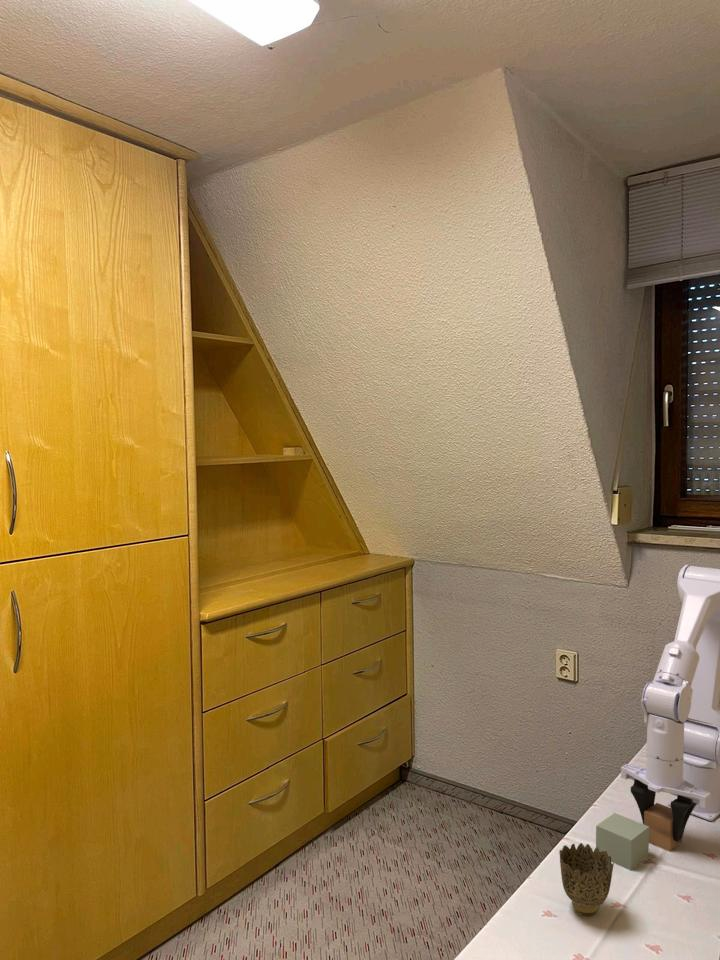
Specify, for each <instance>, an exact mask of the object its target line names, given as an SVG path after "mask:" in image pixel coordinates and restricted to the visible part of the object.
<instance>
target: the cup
mask: <svg viewBox="0 0 720 960" xmlns="http://www.w3.org/2000/svg"><path fill="white" fill-rule="evenodd" d="M559 863H560V864H559V865H560V873H561V883H562V886H563V890H564V892H565V894H566V896H567V897H568V898H569V900H570V901H571V905H572V908H573V910H574V911H575V912H576V913H577V914H579V915H581V916H584V917H593V916H595V915H597V913H598V911H599V907H600V905H602V904H604V903H605V901H606V900H607V898H608V895H609V893H610V889H611V885H612V884H611V883H612V877H613V871H614V864H615V863H613V862H611V856H608V852H607V851H606V850H604V851H601V852H599V848H598V846H597V847H596V846H595V848H594V851H593V848H592V847H591V846H590V844H589V843H587V844H586V845H584V844H583V843H582V842H581V843H579V844H578V845H577V847H576V844H575V843H572V844H571V845H570V847H569V846H568V845H565V844H564V846H562V848H561V849H560V850H559Z"/></svg>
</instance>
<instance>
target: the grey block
mask: <svg viewBox="0 0 720 960" xmlns="http://www.w3.org/2000/svg"><path fill="white" fill-rule="evenodd" d="M595 829H596V830H595V848H596V847H597V846H598V848H599V852H601V851H604V850H606V851H607V852H608V856H611V863H612V864H613V863H614V864H615V865H617V866H619V867H622V868H624V869H626V870H629V872H630V871H632V870H633V869H634V868H635V867H637V866H638V865H639V864H641V862H643V861H644V860H645V859H646V858H648V857H649V844H650V843H649V826H646V825H644V824H643V823H641V822H638V821H636V820H634V819H632V818H628V817H626V816H623V815H621V814H618V813H616V812H614V813H612V814H611V815H609V816H608V817H606V818H605V819H604V820H602V821H601V822H600V823H598V824H596V825H595Z"/></svg>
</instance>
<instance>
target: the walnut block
mask: <svg viewBox="0 0 720 960" xmlns="http://www.w3.org/2000/svg"><path fill="white" fill-rule="evenodd" d="M644 825H646V826H649V844H651V845H653V846H655V847H658V848H660V849H663V850H665V851H667V852H669V853H670V852H671V851H672V850H674V849H675V848H676V847H677V846H679V845H680V844H681V843H682V842H683V838H682V839H680V840H679V841H678V842H677V841H674V840H673V814H672V809H671V807H670V806H666V805H664V804H662V803H658V802H656V803H654V805H653V806H652V807H650V808H649V809H647V810H646V811H645V812H644Z"/></svg>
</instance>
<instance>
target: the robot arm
mask: <svg viewBox="0 0 720 960" xmlns="http://www.w3.org/2000/svg"><path fill="white" fill-rule="evenodd" d="M676 586H677V591H678V596H679V599H680V602H681V604H682V605H681V609H680V615H679V618H678V623H677V627H676V632H675V636H674V640H673V641H671V642H669V643H666V644H665V645H664V649H663V651H662V654H661V657H660V660H659V662H658V666H657V669H656V672H655V675H654V677H653V680H652V681H651V682H650V681H648V682H647V683H646V684H645V686H644V688H643V691H642V696H641V700H640V702H641V710H642V711H643V717H644V718H643V722H644V724H645V726H647V727H646V761H645V762H646V765H645V766H646V767H641V766H636V765H631V764H628V763H625V764H624V765H622V766H621V767H620V772H621V773H620V778H621V779H624V780H628V779H629V780H632V781H633V784H632V785H631V786H630V793H631V795H632V796H633V799H634V800H635V802H636V805H637V807H638V810H639V813H640V817H641V819H642V820H641V821H642V824H644V812H645V811H646V810H647V809H649V808H650V807H652V806H653V805H654V804H655V800H656V793H657V794H658V793H661V792H663V793H666V794H670V795H672V796H674V797H673V798H672V799H670V800H669V801H667V805H668V807H670V808H671V809H672V814H673V840H674V841H677V842H678V841H679V840H680V839H682V840H683V838H684V833H685V829H686V826H687V823H688V820H689V818H690V816H691V815H693V816H695V817H698V818H701V819H704V820H706V821H713V820H715V819H716V818H717V817H719V815H720V708H719V700H720V569H719V568H712V567H704V566H703V567H702V566H695V565H691V564H684V566H683V567H682V568H681V569H680V570H679V572H678V577H677V585H676ZM690 719H691V720H690ZM694 720H695V721H694ZM697 721H698V722H697ZM699 721H700V722H699ZM706 723H707V724H706ZM709 724H710V725H709Z"/></svg>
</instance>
